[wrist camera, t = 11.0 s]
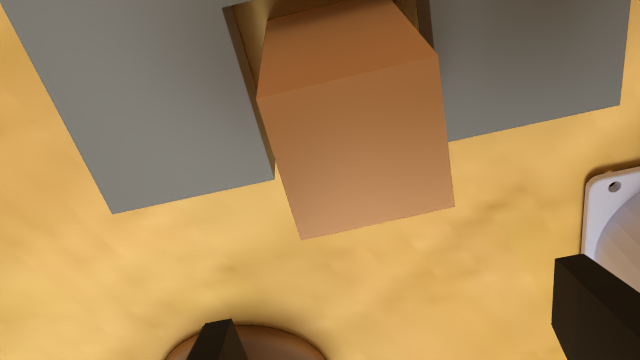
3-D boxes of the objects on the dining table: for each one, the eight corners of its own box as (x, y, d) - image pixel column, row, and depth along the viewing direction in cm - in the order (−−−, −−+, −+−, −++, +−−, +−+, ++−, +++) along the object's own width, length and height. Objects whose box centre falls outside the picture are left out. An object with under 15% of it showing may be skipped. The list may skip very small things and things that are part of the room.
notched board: (612, -261, 14) (659, -281, 12) (589, 84, 19) (619, 104, 17) (-13, -99, 15) (-52, -95, 13) (127, 185, 20) (112, 214, 18)
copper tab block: (383, -9, 17) (438, 55, 11) (401, 100, 19) (454, 206, 13) (266, 20, 17) (255, 98, 11) (296, 125, 19) (300, 240, 13)
